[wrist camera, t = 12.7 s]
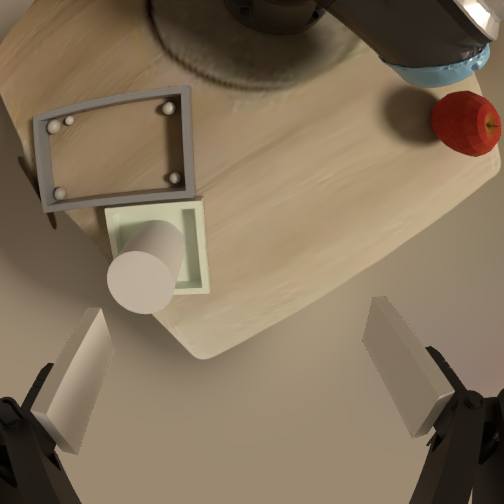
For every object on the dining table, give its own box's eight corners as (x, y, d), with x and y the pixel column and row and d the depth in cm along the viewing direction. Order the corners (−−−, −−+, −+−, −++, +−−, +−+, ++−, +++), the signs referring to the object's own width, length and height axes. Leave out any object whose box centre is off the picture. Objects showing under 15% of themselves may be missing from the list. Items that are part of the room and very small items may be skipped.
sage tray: (111, 203, 42) (104, 208, 39) (203, 195, 43) (201, 200, 40) (126, 286, 47) (121, 296, 44) (210, 283, 48) (209, 293, 45)
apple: (427, 156, 43) (484, 172, 30) (410, 99, 39) (468, 96, 26) (466, 141, 42) (521, 153, 29) (452, 88, 38) (508, 87, 25)
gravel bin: (43, 116, 35) (32, 116, 32) (191, 88, 36) (188, 85, 34) (52, 207, 41) (43, 213, 38) (196, 192, 42) (194, 197, 40)
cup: (123, 246, 44) (95, 283, 33) (156, 208, 42) (133, 236, 31) (162, 280, 46) (146, 325, 35) (196, 245, 45) (188, 284, 34)
